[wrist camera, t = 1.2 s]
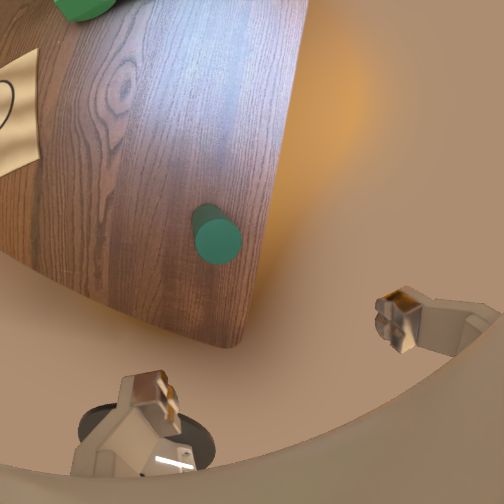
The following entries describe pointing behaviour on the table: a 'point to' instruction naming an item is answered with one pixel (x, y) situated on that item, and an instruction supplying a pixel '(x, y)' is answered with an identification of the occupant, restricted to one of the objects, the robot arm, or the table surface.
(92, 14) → the toy tank
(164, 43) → the table surface
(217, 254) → the dot marker
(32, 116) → the board
